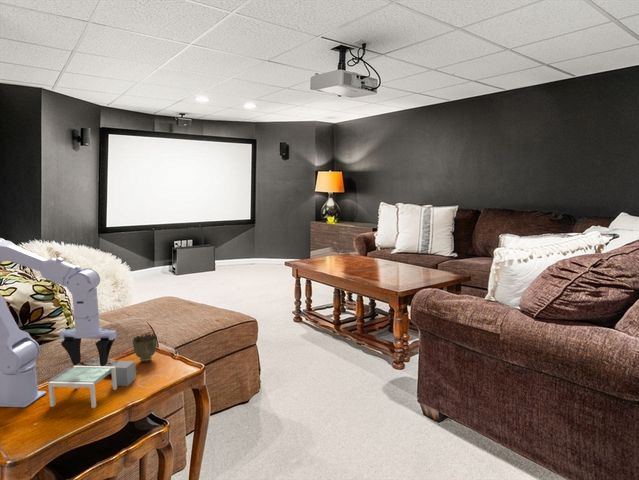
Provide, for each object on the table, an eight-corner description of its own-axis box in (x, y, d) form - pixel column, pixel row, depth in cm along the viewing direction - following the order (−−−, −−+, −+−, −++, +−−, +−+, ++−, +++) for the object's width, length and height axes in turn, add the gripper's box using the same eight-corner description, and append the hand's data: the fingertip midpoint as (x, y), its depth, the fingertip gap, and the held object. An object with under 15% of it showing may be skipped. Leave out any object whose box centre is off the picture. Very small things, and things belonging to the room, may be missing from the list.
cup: (138, 356, 142) (137, 333, 141) (161, 356, 142) (159, 333, 141) (130, 365, 135) (128, 341, 134) (153, 365, 135) (152, 341, 134)
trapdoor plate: (48, 386, 110) (47, 380, 110) (69, 372, 119) (68, 367, 119) (93, 387, 109) (93, 382, 109) (111, 373, 118) (111, 368, 118)
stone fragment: (120, 384, 124) (147, 370, 133) (120, 375, 124) (146, 362, 133) (64, 368, 135) (92, 356, 144) (63, 359, 134) (92, 348, 143)
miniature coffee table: (50, 406, 110) (48, 382, 109) (76, 387, 120) (74, 365, 120) (94, 407, 109) (92, 384, 108) (117, 388, 119) (115, 366, 119)
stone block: (112, 385, 121) (111, 367, 121) (121, 378, 126) (119, 360, 125) (127, 386, 121) (126, 367, 120) (135, 378, 126) (134, 361, 125)
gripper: (121, 311, 115) (124, 358, 117) (70, 310, 116) (74, 357, 118) (106, 319, 108) (109, 369, 110) (52, 318, 109) (56, 368, 111)
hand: (90, 364), depth 113 cm, fingers open, 7 cm apart
